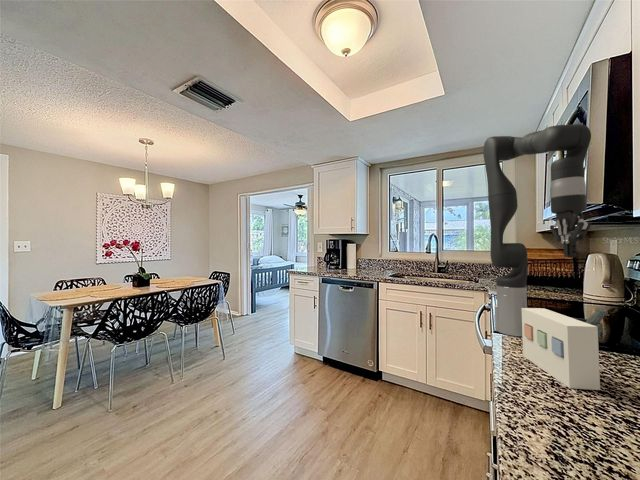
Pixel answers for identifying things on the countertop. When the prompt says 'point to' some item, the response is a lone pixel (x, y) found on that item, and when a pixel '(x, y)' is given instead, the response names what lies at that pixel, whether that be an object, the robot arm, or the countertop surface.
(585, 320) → the mortar and pestle
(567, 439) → the countertop surface
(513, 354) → the countertop surface
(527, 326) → the terracotta button
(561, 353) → the blue button
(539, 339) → the sage button
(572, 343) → the control box
